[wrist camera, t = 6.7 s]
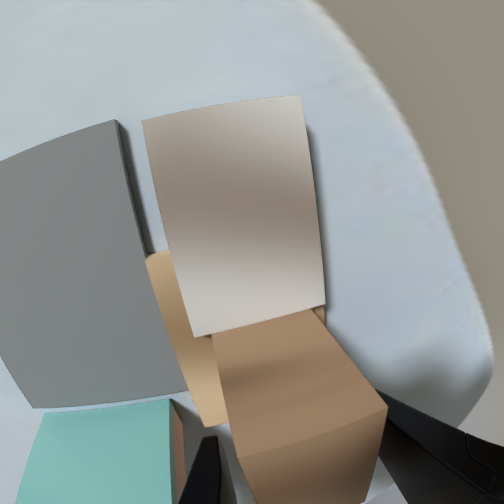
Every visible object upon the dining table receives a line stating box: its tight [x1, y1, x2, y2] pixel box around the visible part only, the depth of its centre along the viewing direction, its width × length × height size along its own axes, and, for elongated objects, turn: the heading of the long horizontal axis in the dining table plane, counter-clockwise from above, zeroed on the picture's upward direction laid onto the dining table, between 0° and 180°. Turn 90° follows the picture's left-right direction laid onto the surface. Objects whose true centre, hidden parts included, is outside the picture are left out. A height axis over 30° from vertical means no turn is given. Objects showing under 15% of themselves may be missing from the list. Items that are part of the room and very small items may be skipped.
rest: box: [145, 250, 325, 427], centre depth 10 cm, size 7×5×1 cm
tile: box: [15, 399, 187, 504], centre depth 8 cm, size 2×6×6 cm, turn 101°
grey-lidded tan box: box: [142, 95, 388, 504], centre depth 7 cm, size 11×4×5 cm, turn 10°
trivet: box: [0, 119, 189, 408], centre depth 8 cm, size 9×7×1 cm
